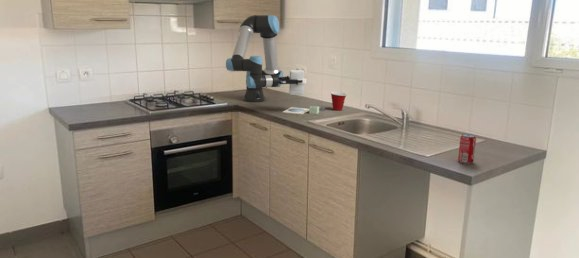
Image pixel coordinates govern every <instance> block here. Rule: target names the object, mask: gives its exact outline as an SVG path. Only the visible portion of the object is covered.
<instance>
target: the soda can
mask: <svg viewBox="0 0 579 258" xmlns="http://www.w3.org/2000/svg"><path fill="white" fill-rule="evenodd" d="M476 142H477V138H476V135H475V134H472V133H462V134H461V136H460V138H459V148H458V156H457V160H458V161H459V163H461V164H467V165H468V164H472V163H473V162H474V160H475V152H476Z"/></svg>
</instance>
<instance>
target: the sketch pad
mask: <svg viewBox="0 0 579 258" xmlns="http://www.w3.org/2000/svg"><path fill="white" fill-rule="evenodd" d="M308 111H309V108H304V107H293V106H291V107H289V108H287V109H285V110H284V111H283V110H282V113H283V114H295V115H304V113H307V112H308Z"/></svg>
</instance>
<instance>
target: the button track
mask: <svg viewBox="0 0 579 258" xmlns="http://www.w3.org/2000/svg"><path fill="white" fill-rule="evenodd" d="M325 110H326V107H321V106H319V112H320V111H322V112H323V111H325Z"/></svg>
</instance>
